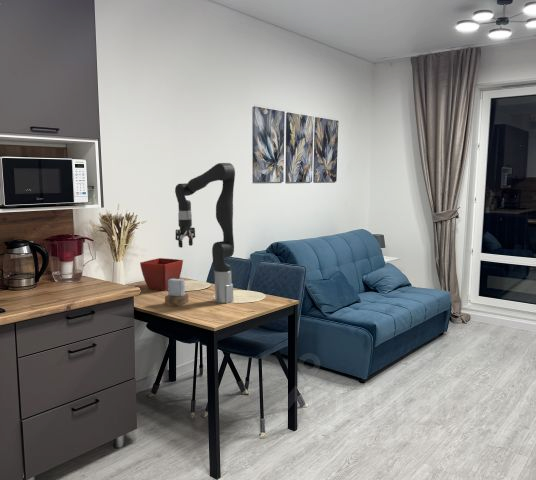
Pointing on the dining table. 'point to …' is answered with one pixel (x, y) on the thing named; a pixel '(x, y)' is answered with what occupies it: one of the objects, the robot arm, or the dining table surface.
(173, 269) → the plant pot
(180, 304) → the walnut block
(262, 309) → the dining table surface
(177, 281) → the medicine box
